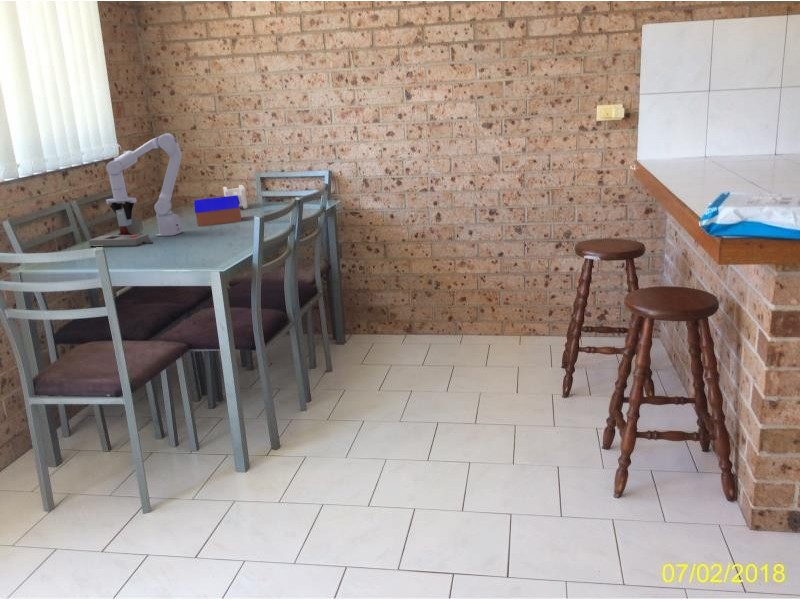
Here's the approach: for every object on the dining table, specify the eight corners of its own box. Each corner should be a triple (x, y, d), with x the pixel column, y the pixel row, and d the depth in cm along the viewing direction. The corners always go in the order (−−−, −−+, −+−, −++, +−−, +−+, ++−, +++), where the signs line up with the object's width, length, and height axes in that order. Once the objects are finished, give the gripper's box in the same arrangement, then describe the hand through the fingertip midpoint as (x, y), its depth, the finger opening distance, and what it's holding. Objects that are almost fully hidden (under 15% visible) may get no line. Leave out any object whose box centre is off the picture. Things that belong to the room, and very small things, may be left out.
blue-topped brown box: (241, 221, 347) (237, 197, 344) (197, 227, 345) (193, 202, 341) (241, 217, 359) (238, 193, 355) (199, 222, 356) (195, 198, 353)
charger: (132, 224, 329) (129, 208, 327) (126, 226, 325) (123, 210, 323) (124, 224, 330) (121, 208, 328) (118, 226, 326) (115, 210, 324)
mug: (122, 245, 339) (133, 243, 333) (108, 233, 335) (119, 231, 328) (134, 228, 344) (146, 225, 338) (121, 216, 340) (132, 213, 333)
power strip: (159, 240, 319) (157, 232, 318) (146, 245, 311) (144, 237, 310) (104, 242, 328) (102, 234, 327) (90, 247, 320) (88, 238, 319)
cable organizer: (226, 208, 391) (222, 186, 388) (246, 205, 394) (242, 183, 390) (227, 212, 377) (224, 189, 374) (248, 209, 380) (245, 186, 376)
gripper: (138, 186, 325) (144, 216, 329) (111, 187, 330) (117, 218, 334) (128, 189, 319) (134, 220, 322) (100, 190, 323) (106, 221, 327)
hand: (125, 219), depth 328 cm, fingers closed on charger, 4 cm apart
